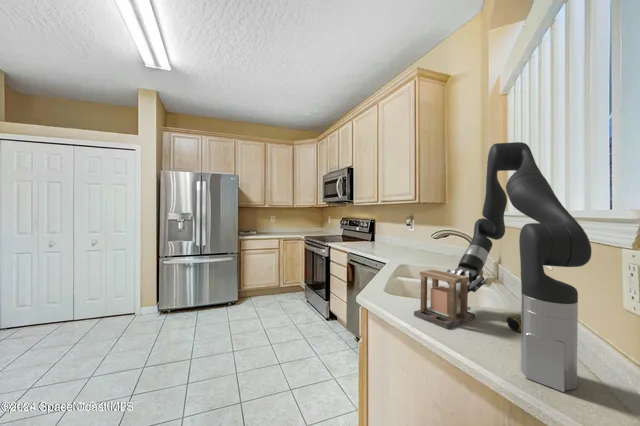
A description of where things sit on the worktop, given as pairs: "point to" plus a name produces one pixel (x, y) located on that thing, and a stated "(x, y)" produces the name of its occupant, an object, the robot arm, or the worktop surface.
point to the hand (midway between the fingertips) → (455, 296)
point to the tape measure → (514, 322)
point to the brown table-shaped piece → (453, 317)
